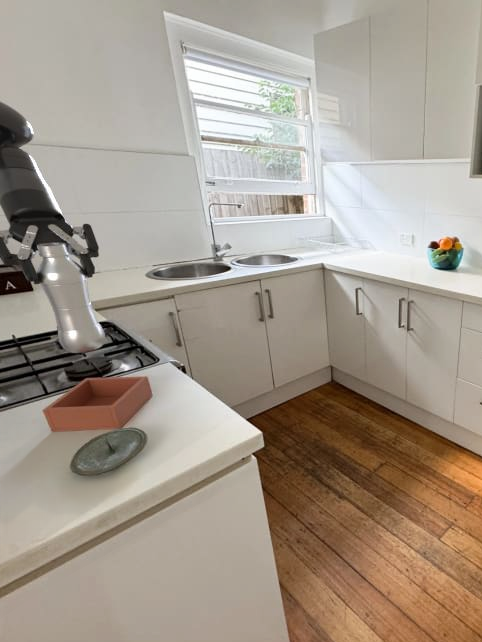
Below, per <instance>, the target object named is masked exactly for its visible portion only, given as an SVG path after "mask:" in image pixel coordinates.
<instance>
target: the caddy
mask: <svg viewBox="0 0 482 642" xmlns="http://www.w3.org/2000/svg"><path fill="white" fill-rule="evenodd" d="M153 395H154V393H153V391H152V388H151V385H150V381H149V377H148V376H146V375H144V376H115V377H114V376H113V377H111V376H110V377H86V378H84V379H83V380H81V381H80V382H79V383H77V384H76V385H75V386H72V388H71V389H69V390H68V391H67V392H65V393H64V394H63V395H61V396H60V397H59V398H57V399H55V401H53V402H52V403H50V404H49V405H47V406H46V407H44V408H43V409H42V413H43V415H44V417H45V420H46V423H47V424H48V426H49V429H50V432H71V431H73V432H74V431H91V430H92V431H93V430H94V431H95V430H116V429H121V428H124V426H125V425H126V424H127V423H128V422H129V421H130V419H132V418H133V417H134V416H135V415H136V414H137V412H139V410H141V409H142V407H143V406H144V405H145V404H146V403H147V402H148V401H149V400H150V399H151V398H152V397H153Z"/></svg>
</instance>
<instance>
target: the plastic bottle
mask: <svg viewBox="0 0 482 642" xmlns="http://www.w3.org/2000/svg"><path fill="white" fill-rule="evenodd" d="M37 248H38V251H37V252H38V255H39V257H41V258H42V261H41V262H40V264H39V265H38V267H37V268H38V269H37V270H36V273H37V275H38V277H39V281H40V284H39V285H40V286H41V288H42V291H43V292H44V294H45V295H46V297H47V299H48V302H49V304H50V306H51V308H52V312H53V314H54V318H55V322H56V326H57V337H58V342H59V344H60V345H61V347H62V348H63V350H64V351H67V353H70V354H79V353H81V354H82V353H87V352H88V353H89V352H92V351H95V350H97V349H100V348H101V347H103V346H104V344H105V342H106V334H105V330H104V329H103V327H102V324H100V323H99V320H98V318H97V316H96V313H95V311H94V308H93V305H92V302H91V297H90V293H89V285H88V278H87V276H86V272H85V270H84V269H83V267H82V265H81V264H79V263H78V262H76V260H74V259H72V257H71V258H70V256H69V255H70V253H69V251H68V250H67V247H66V244H65V243H43V244H38V245H37Z"/></svg>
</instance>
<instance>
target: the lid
mask: <svg viewBox="0 0 482 642" xmlns="http://www.w3.org/2000/svg"><path fill="white" fill-rule="evenodd" d="M147 443H148V434H147V433H146V432H145V431H144V430H143V429H141V428H138V427H122V428H119V429H113V430H111V431H107V432H105V433H102V434H99V435H97V436H95V437H93V438H91V439H89V440H88V441H87V442H85V443H84V444H83V445H81V447H80V448H78V449H77V451H76V452H75V454H74V455H73V456H72V459H71V461H70V464H69V468H70V471H71V472H72V473H74V474H76V475H78V476H83V477H84V476H86V477H87V476H98V475H101V474H103V473H107V472H111V471H113V470H115V469H118V468H120V467H122V466H123V465H125V464H127V463H128V462H130V461H131V460H132V459H134V458H135V457H136V456H138V454H140V453H141V452H142V451H143V449H144V448H145V446H147Z"/></svg>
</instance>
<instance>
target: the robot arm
mask: <svg viewBox="0 0 482 642" xmlns="http://www.w3.org/2000/svg"><path fill="white" fill-rule="evenodd" d="M34 138H35V132H34V129H33V126H32V124H31V123H30V122H29V121H28V119H27V118H26V117H25V116H24V115H23V114H21V113H20V112H19V111H18V110H16V109H14V108H13V107H11V106H10V105H8V104H6V103H5V102H3V101H1V100H0V207H1V209H2V211H3V214H4V216H5V218H6V221H7V222H8V225H9V228H8V229H7V230H0V260H1V262H2V263H3V265H4V266H6V267H11V266H18V267H20V268H21V271H22V273H23V275H24V277H25V279H26V281H27V282H28V283H31V282H32V283H33V284H34V285H40V281H39V277H38V275H37V270H36V268H35V266H34V264H33V262H32V261H33V259H35V256H36V254H37V252H39V251H38V248H37V245H38V244H43V243H65V244H66V247H67V250H68V251H69V253H70V254H69V255H71V256H74V257H76V258H77V259H79V263H80V266H81V267H82V268H83V269H84V270H85V272H86V276H87V279H89V278H93V277H94V276H93V275H95V274H96V267H95V265H94V262H93V260H92V258H98V257H100V254H99V250H100V247H99V245H98V241H97V238H96V235H95V233H94V231H93V228H92V225H91V224H89V223H83V224H82V226H72V224H69V222H67V220H66V218H65V216H64V214H63V212H62V209H61V207H60V206H59V204H58V201H57V200H56V197H55V196H54V194H53V191H52V189H51V187H50V186H49V184H48V183H47V182H46V180H45V178H44V177H43V175H42V172H41V171H40V168H39V166H38V164H37V161H36V160H35V159H34V157H33V156H32V155H31V154H29V152H27V151H26V150H23V149H22V148H21V147H23V146H25V145H27V144H30V142H32V141H33V139H34ZM74 235H78V237H79V238H80V239H81V240H85V243H86V246H87V248H86V247H84V246H83V245H81V244H80V243H79V242H78V241H77V240H76V239H75V238H73V236H74ZM10 239H13V240H14V241H16V242H18V243H20V249H19V251H18V252H17V253H11V251H10V250H9V248H8V246H7V245H8V244H9V240H10Z"/></svg>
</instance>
